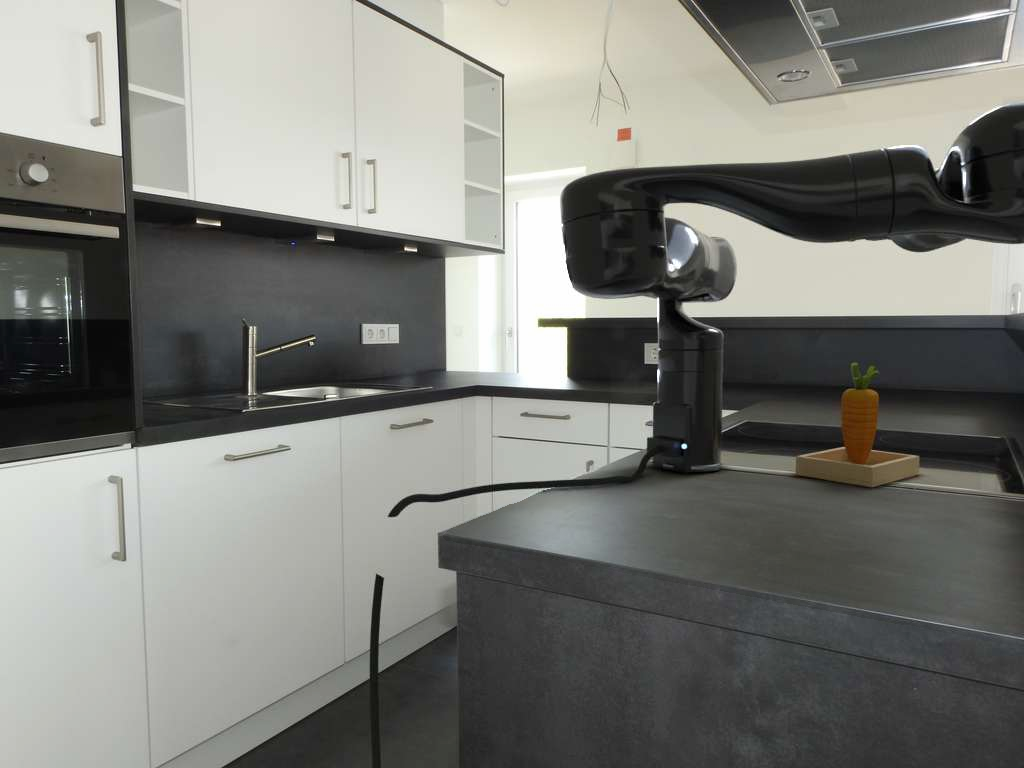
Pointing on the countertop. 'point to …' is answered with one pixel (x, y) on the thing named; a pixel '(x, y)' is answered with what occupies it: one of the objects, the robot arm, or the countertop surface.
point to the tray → (857, 467)
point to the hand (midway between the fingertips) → (887, 232)
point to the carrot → (859, 416)
